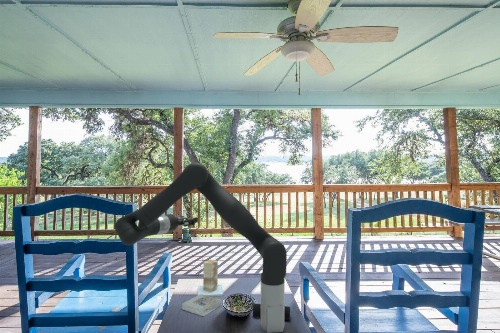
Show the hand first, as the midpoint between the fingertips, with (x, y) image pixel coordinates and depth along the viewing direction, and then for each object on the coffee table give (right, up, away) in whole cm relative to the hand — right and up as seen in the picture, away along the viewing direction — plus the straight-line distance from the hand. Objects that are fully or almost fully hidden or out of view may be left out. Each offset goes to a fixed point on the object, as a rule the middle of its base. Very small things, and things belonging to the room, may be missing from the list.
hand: (190, 219), depth 132 cm
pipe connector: (+37, -38, -11) cm, 54 cm away
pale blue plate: (+8, -38, +12) cm, 41 cm away
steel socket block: (+6, -38, -6) cm, 39 cm away
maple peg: (+8, -38, +12) cm, 40 cm away
